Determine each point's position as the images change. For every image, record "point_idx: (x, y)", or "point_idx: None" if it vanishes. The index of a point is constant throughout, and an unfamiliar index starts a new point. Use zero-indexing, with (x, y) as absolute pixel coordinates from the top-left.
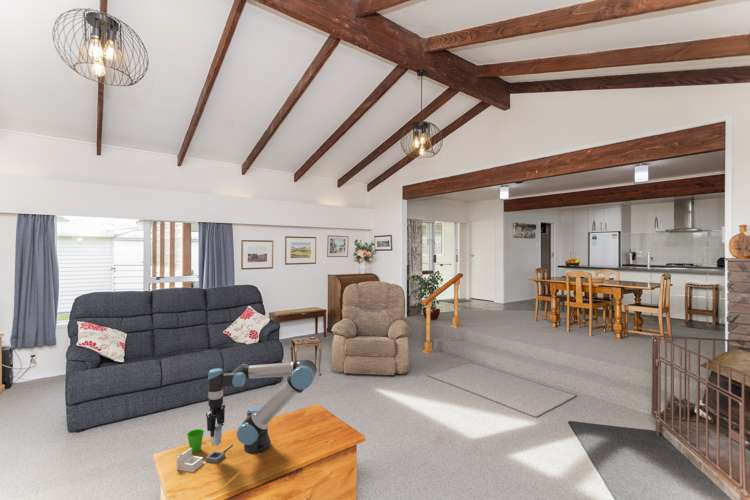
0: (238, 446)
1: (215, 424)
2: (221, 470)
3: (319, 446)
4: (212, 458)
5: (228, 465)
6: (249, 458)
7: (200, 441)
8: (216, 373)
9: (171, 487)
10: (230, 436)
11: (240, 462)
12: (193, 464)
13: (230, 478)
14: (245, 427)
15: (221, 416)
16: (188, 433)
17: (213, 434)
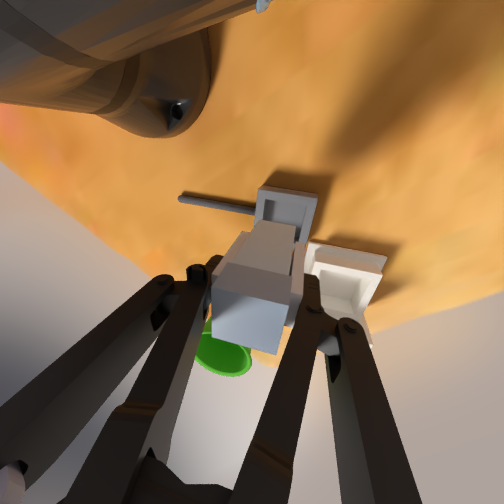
0: (174, 172)
1: (238, 330)
2: (375, 139)
3: None
4: (310, 222)
5: (328, 128)
6: (253, 35)
7: None
8: None
9: (490, 286)
10: (132, 238)
11: (297, 70)
12: (376, 274)
13: (489, 16)
14: None
15: (132, 343)
16: (228, 371)
17: (308, 283)
